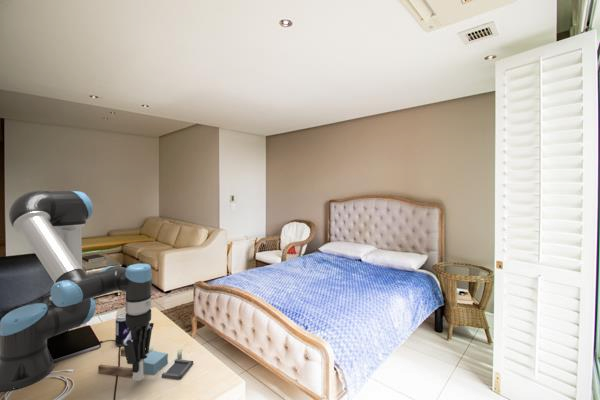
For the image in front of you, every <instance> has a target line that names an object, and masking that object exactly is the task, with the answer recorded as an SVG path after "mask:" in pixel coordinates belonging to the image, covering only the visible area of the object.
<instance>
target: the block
mask: <svg viewBox="0 0 600 400" xmlns="http://www.w3.org/2000/svg"><path fill="white" fill-rule="evenodd" d="M146 356H147V358H146V359H144V366H143V374H148V375H151V376H152V375H153V376H154V375H156V374H157V373H158V372H159V371H161V369H163V368H164V367H165V366H166V365H167V364H168V361H169V360H168V357H169V355H168V353H167V352H162V351H156V350H154V351H151V352H150V353H148V354H147V355H146Z"/></svg>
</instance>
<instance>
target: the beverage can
mask: <svg viewBox="0 0 600 400" xmlns="http://www.w3.org/2000/svg"><path fill="white" fill-rule="evenodd" d="M127 332H128V326H127V325H126V312H124V313H120V314H118V315H117V316H116V318H115V338H114V339H115V345H117V346H119V347H122V346H123V345H122V343H121V341H122V340H123V339H126V337H127V336H128V335H127ZM123 347H124V346H123Z"/></svg>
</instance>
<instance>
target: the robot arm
mask: <svg viewBox="0 0 600 400" xmlns="http://www.w3.org/2000/svg"><path fill="white" fill-rule="evenodd" d="M93 206H94V205H93V203H92V201H91V199H90V197H89V196H88V195H87V194H86V193H85V192H83V191H76V190H32V191H29V192H26V193H24V194H21V195H20V196H19V197H18V198H16V199H15V200H14V201H13V203H12V204H11V206H10V208H9V211H8V218H9V223H10V224H11V226H12V228H13V230H15V231H16V232H19V233H21V234H22V236H24V238H25V240H26V241H27V243H28V245H29V246H30V247H31V249H32V250H33V252H34V254H35V255H36V257H37V258H38V260H39V261H40V263H41V264H42V266H43V267H44V269H45V270H46V272H47V273H48V275H49V277H50V278H51V279H52V281H53V283H54V284H53V285H52V287H51V288H50V296H49V300H48V301H49V303H48V304H46V303H43V302H42V303H41V302H37V303H36V302H35V303H32V304H26V305H23V306H21V307H18V308H14V309H13V310H10V311H9V312H8V313H6V314H5V315H4V316H2V318H1V319H0V392H6V391H7V392H8V391H12V390H11V389H13V388H18V389H22V388H25V387H27V386H29V385H33V384H34V383H36V382H39V381H40V380H42V379H43V378H45V377H47V376H48V375H49V374H50V373H51V372H52V371H53V369H54V358H53V357H52V355H51V353H50V350H49V349H48V339H50V338H52V337H55V336H57V335H61V334H63V333H65V332H67V331H70V330H73V329H76V328H79V327H80V326H82V325H85V324H87V323H89V322H90V321H91V320H92V319H93V317H94V316H95V312H96V300H94V299H95V298H96V297H101V296H103V295H106V294H110V293H113V292H115V291H116V292H117V291H120V292H124V293H125V313H126V325H127V326H128V332H127V335H128V336H127V337H126V339H123V340H122V341H121V343H122V345H123V348H124V350H125V355H126V356H125V359H126V363H127V365H132V367H131V368H132V369H133V370H132V371H133V376H132V380H133V381H136V382H137V381H138V382H141V381H142V380H143V379H144V373H143V366H144V359H146V358H147V356H146V355H145V354H146V353H148V352H149V348H150V347H151V346H150V345H151V339H152V338H151V337H152V331H153V328H154V322H151V321H152V282H153V280H152V278H153V274H152V266H151V265H150V264H148V263H134V264H131V265H129V266H126V267H123V266H119V265H109V266H106V267H105V268H104V269H102V270H101V271H98V272H95V273H89V274H87V273H86V271H85V270H84V268H83V248H82V246H83V243H82V242H83V241H82V228H84V227H85V225H87V223H86V220H88V219H90V218H91V217H92V214H93V209H94V208H93Z"/></svg>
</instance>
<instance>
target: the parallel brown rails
mask: <svg viewBox="0 0 600 400" xmlns="http://www.w3.org/2000/svg"><path fill="white" fill-rule="evenodd" d="M150 352H151V351H149V352H148V353H150ZM148 353H146V354H145V355H147V354H148ZM120 357H126V355H125V350H124V347H122V348H121V349H120ZM97 367H98V370H97V373H98V374H104V375H111V376H121V377H129V378H133V371H132V370H133V369H132V367H128V366H127V367H125V366H117V365H109V364H99V365H98V366H97Z"/></svg>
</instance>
